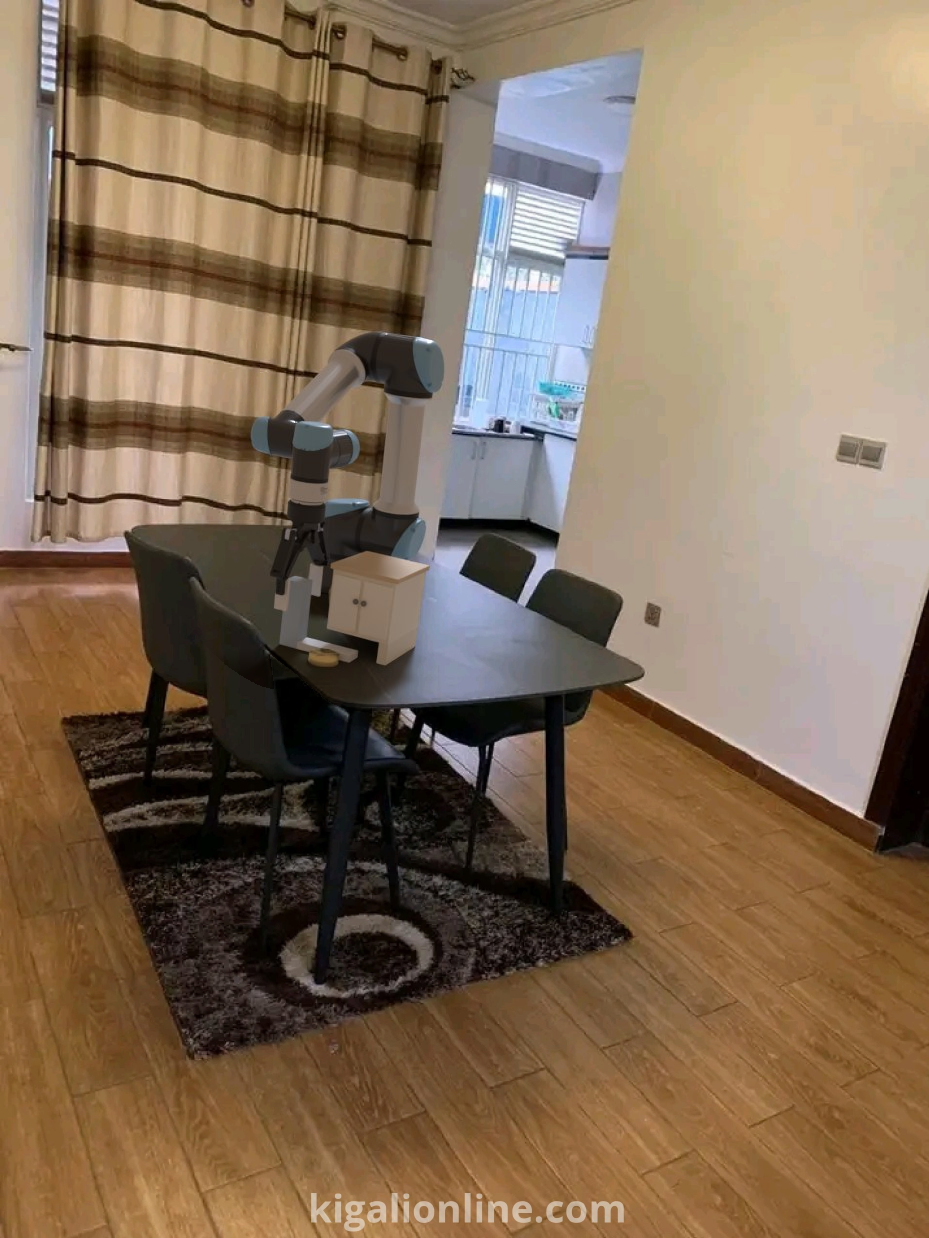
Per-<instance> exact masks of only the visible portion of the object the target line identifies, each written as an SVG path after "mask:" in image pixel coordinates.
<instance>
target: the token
mask: <svg viewBox="0 0 929 1238" xmlns="http://www.w3.org/2000/svg"><path fill="white" fill-rule="evenodd" d="M307 661H308V663H309V664H311V665H313V666H316V667H321V668H322V667H323V668H333V667H336V666H338V665H339V661H340V660H339V653H338V652H336V651H334V650H330V649H324V648H316V649H312V650H310V651H309V652H308V660H307Z"/></svg>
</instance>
